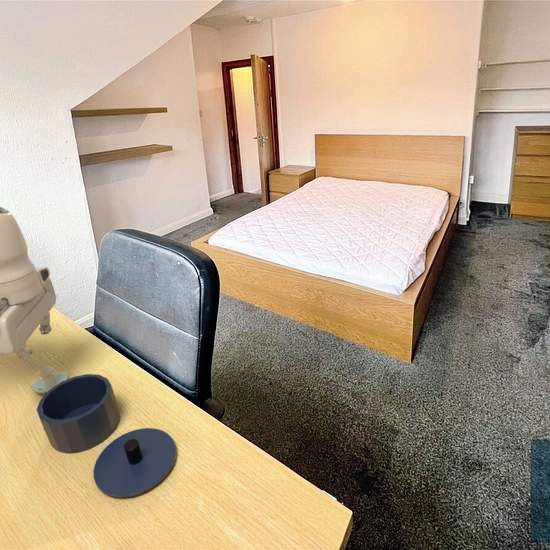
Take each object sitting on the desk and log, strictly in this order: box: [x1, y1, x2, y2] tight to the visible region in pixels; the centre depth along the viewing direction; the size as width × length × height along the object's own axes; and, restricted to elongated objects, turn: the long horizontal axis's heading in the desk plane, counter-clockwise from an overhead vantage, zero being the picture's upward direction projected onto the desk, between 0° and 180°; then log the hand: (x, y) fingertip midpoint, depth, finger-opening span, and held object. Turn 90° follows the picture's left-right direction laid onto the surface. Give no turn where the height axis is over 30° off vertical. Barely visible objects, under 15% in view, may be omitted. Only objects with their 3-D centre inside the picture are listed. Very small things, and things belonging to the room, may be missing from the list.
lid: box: [93, 427, 177, 498], centre depth 70 cm, size 14×14×5 cm
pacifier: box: [30, 365, 69, 394], centre depth 89 cm, size 7×6×6 cm
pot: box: [36, 373, 121, 454], centre depth 77 cm, size 13×13×8 cm
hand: (37, 345), depth 85 cm, fingers open, 8 cm apart
